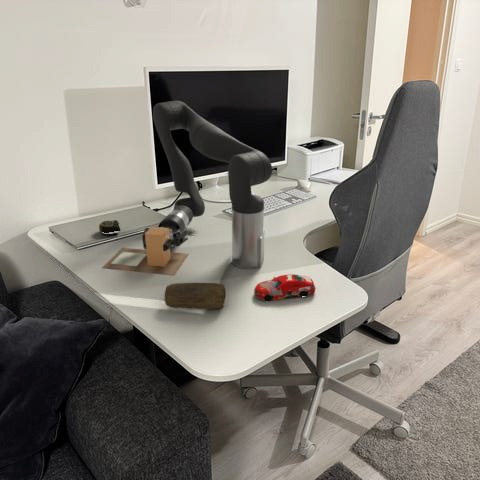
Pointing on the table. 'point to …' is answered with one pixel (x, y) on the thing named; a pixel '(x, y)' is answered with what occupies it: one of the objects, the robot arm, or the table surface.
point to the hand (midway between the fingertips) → (154, 247)
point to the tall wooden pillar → (157, 246)
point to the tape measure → (109, 226)
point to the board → (143, 262)
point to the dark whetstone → (195, 295)
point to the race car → (285, 287)
